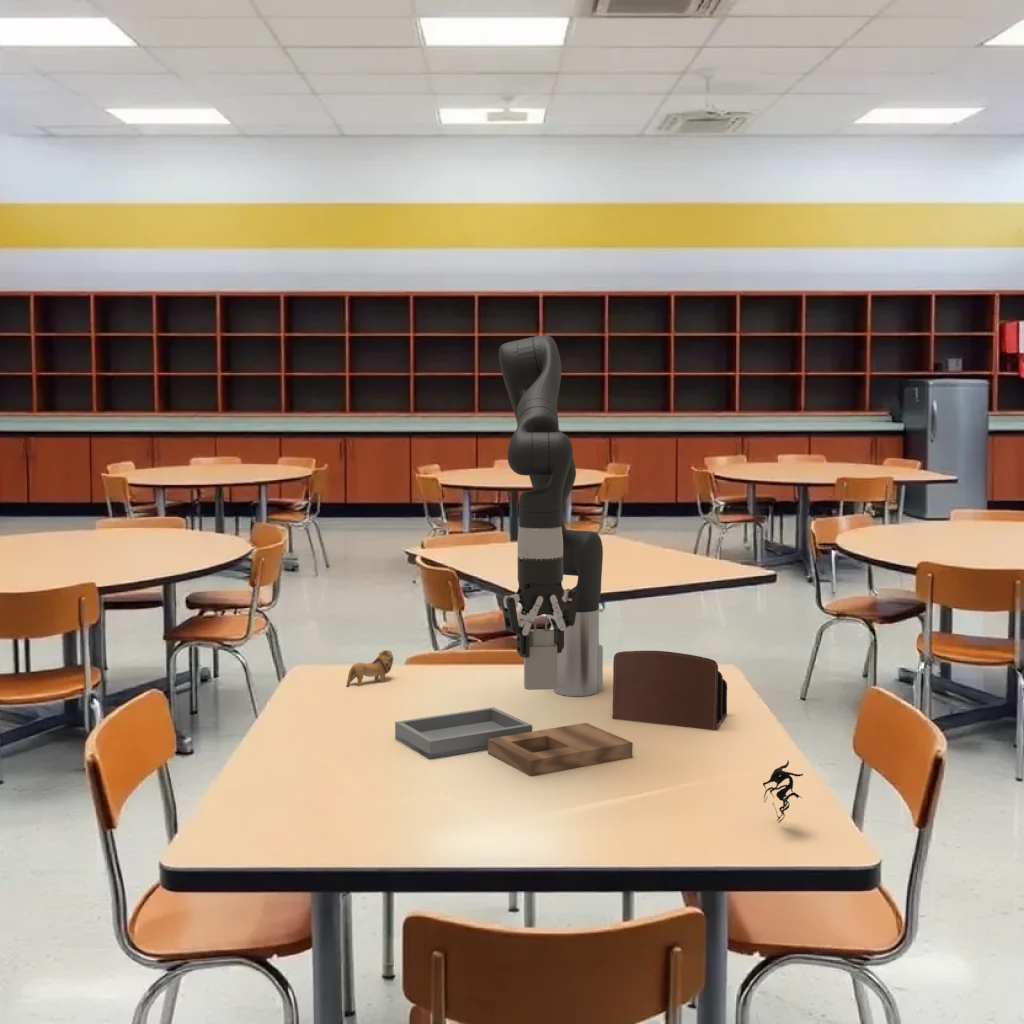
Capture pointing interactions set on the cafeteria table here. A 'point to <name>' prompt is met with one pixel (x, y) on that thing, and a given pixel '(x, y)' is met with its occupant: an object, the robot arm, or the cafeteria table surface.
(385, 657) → the lion figurine
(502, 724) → the tray
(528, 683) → the power adapter
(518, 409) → the robot arm
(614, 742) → the dock board
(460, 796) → the cafeteria table surface
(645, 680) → the letter holder
